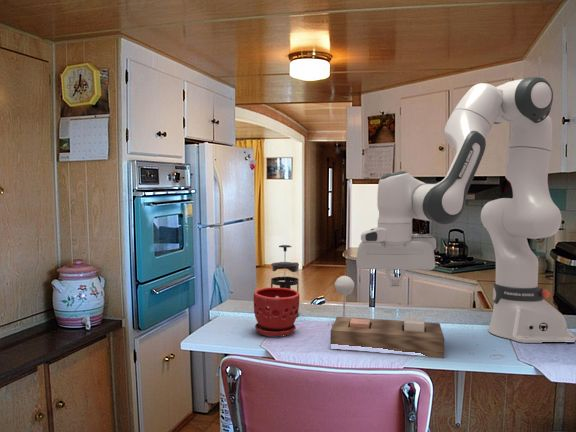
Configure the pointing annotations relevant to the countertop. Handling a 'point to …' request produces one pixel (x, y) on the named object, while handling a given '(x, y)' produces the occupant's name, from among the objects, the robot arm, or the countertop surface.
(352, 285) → the lollipop
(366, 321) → the terracotta key
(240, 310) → the countertop surface
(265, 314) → the plant pot
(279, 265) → the french press
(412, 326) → the cream key
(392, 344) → the brown flat block
